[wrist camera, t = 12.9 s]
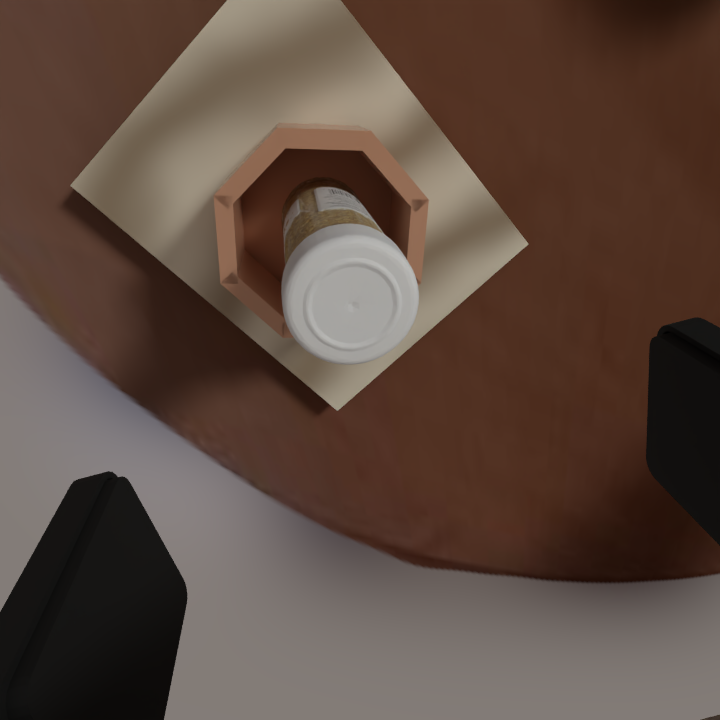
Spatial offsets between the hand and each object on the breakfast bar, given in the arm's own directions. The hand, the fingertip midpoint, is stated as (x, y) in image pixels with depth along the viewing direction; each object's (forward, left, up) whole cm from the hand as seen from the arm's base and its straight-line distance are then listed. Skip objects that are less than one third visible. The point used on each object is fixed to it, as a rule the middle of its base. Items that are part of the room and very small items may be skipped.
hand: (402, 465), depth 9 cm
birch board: (0, 0, -24) cm, 24 cm away
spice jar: (0, 0, -22) cm, 22 cm away
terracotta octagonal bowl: (0, 0, -23) cm, 23 cm away
